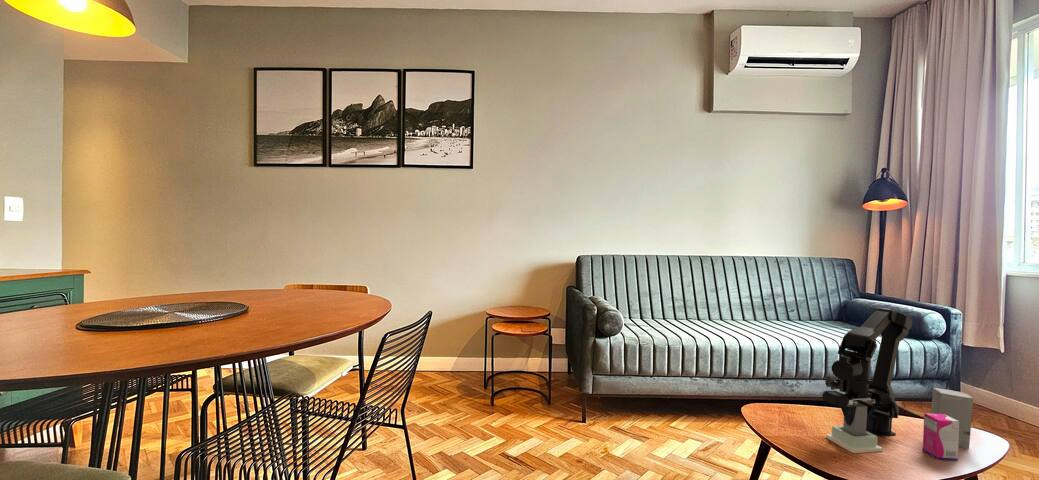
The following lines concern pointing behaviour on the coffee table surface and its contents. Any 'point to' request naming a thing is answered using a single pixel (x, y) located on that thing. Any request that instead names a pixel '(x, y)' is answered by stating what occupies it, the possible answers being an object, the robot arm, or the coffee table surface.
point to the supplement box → (941, 436)
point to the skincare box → (955, 411)
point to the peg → (857, 421)
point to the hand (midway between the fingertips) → (854, 424)
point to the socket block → (854, 441)
